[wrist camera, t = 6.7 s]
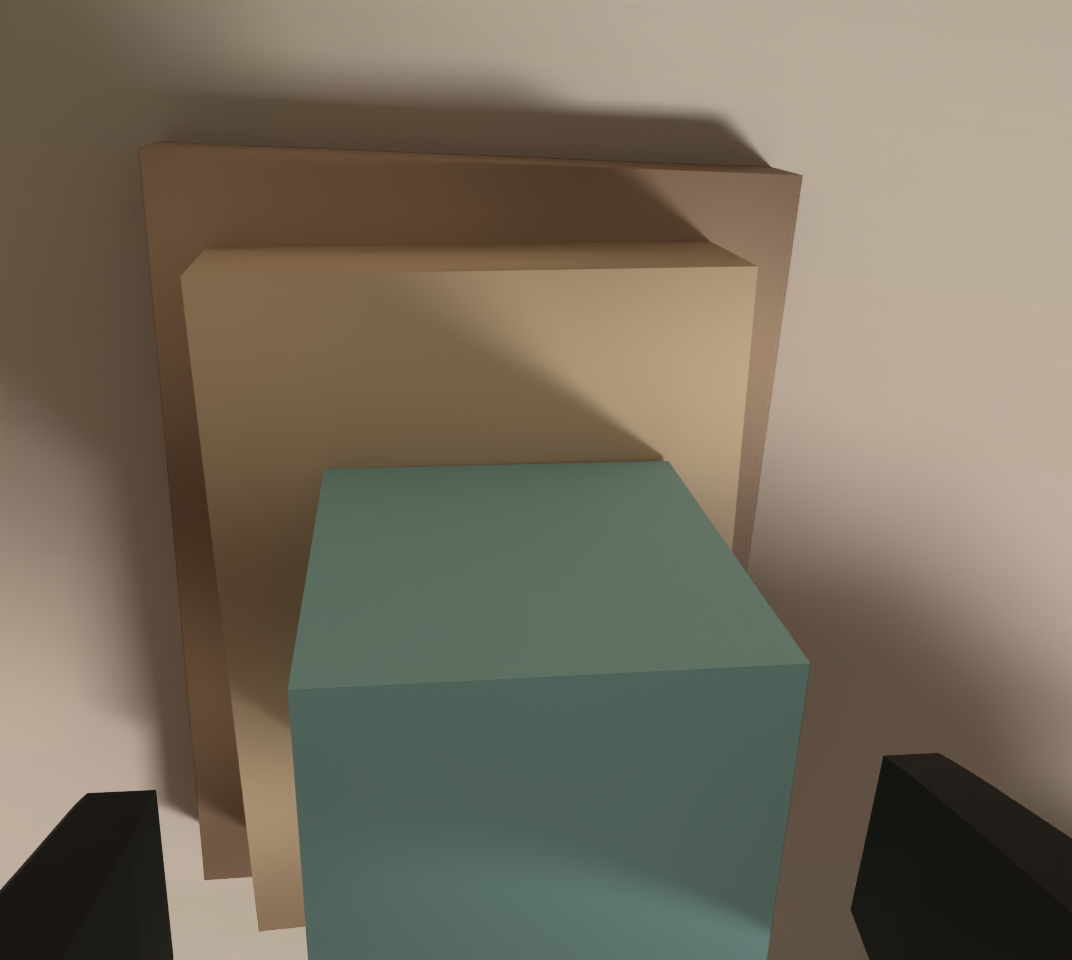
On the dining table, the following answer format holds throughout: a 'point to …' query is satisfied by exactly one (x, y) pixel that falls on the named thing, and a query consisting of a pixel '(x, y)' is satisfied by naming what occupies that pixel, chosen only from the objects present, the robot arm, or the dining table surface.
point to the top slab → (432, 419)
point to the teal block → (537, 720)
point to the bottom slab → (410, 219)
